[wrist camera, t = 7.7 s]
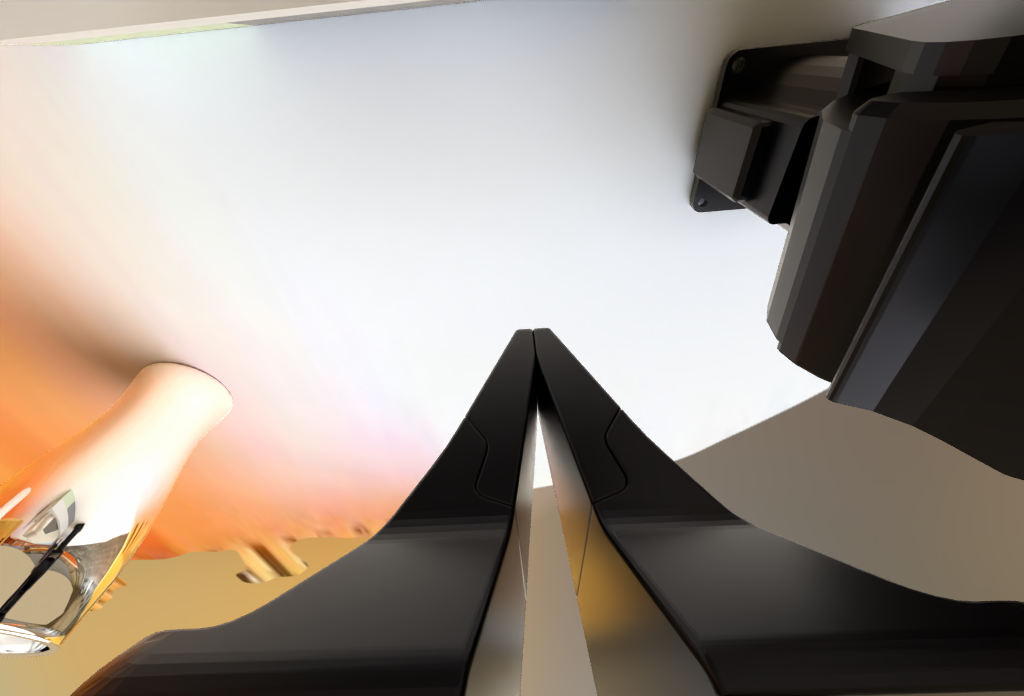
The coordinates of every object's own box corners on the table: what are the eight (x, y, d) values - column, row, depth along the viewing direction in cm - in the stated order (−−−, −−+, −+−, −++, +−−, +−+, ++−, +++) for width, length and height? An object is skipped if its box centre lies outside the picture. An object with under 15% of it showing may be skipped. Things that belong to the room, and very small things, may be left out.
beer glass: (213, 357, 25) (-31, 618, 14) (255, 420, 30) (98, 657, 18) (109, 356, 25) (-226, 620, 13) (168, 420, 29) (-47, 659, 18)
